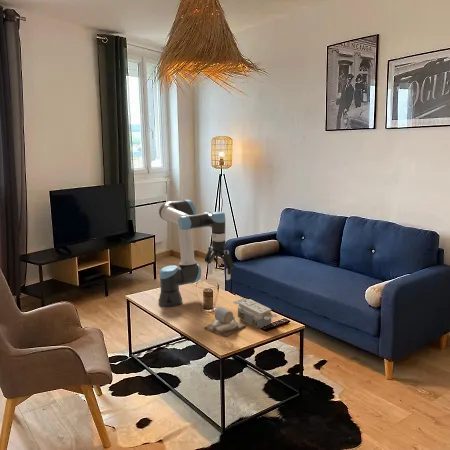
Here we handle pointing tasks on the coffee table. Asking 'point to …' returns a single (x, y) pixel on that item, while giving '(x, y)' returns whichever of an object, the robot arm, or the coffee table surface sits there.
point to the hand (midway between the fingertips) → (219, 276)
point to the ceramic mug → (224, 315)
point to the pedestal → (224, 327)
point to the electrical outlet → (254, 313)
